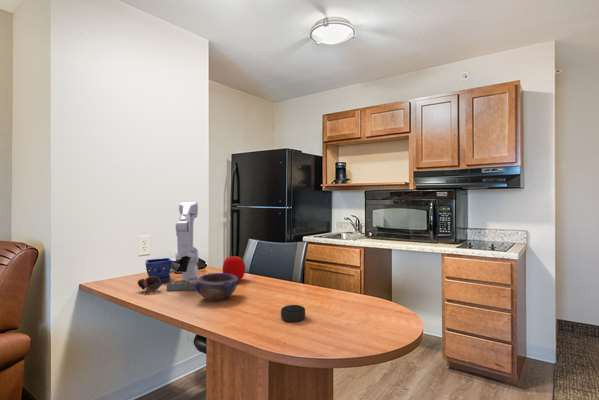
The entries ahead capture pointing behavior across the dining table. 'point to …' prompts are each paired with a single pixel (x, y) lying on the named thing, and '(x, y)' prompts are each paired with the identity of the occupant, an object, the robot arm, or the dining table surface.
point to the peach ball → (179, 281)
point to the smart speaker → (293, 313)
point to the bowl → (216, 285)
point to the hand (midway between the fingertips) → (184, 271)
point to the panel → (180, 286)
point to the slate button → (192, 279)
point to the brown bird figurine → (149, 284)
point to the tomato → (234, 266)
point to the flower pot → (159, 268)
